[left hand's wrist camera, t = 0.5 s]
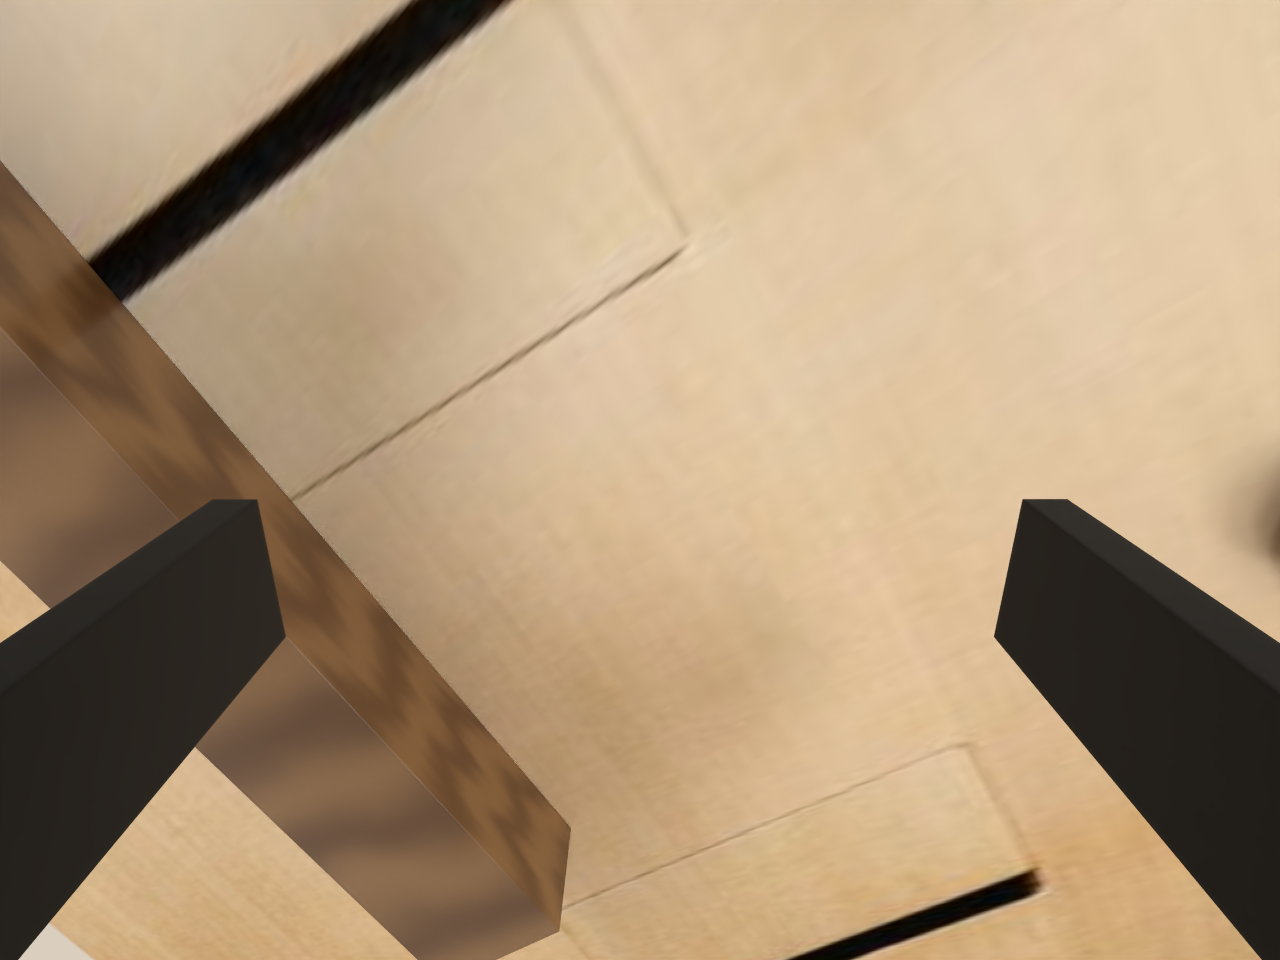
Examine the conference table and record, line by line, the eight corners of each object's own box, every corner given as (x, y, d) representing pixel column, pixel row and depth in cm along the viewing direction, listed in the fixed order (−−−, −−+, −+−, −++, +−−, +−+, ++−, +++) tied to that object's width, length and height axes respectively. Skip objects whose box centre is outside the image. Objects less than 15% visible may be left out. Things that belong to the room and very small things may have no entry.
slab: (-406, -44, 31) (-712, -119, 24) (-286, -175, 30) (-577, -296, 23) (470, 876, 51) (442, 984, 44) (571, 827, 49) (559, 931, 42)
